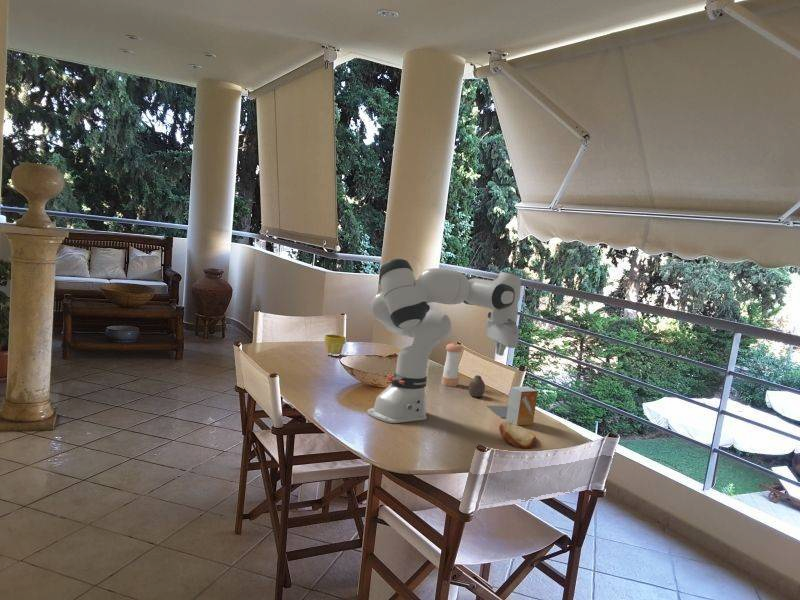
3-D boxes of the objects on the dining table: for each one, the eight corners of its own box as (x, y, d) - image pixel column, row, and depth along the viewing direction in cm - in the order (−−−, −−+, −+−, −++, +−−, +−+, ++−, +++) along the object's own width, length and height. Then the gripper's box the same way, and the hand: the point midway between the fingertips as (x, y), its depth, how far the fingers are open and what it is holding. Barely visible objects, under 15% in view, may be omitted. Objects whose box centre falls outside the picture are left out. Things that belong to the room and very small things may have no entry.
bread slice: (504, 425, 216) (505, 415, 215) (549, 440, 205) (551, 430, 204) (478, 435, 202) (479, 425, 201) (526, 452, 191) (527, 441, 190)
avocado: (479, 399, 245) (482, 379, 244) (464, 395, 249) (467, 375, 248) (486, 396, 251) (489, 376, 250) (471, 392, 255) (474, 373, 254)
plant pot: (335, 352, 305) (337, 333, 304) (347, 356, 298) (349, 337, 296) (319, 353, 298) (320, 334, 297) (331, 358, 291) (333, 338, 289)
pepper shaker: (457, 383, 269) (462, 341, 267) (457, 387, 262) (462, 344, 259) (441, 381, 269) (446, 339, 267) (441, 385, 262) (446, 342, 260)
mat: (528, 418, 226) (528, 417, 226) (501, 418, 223) (501, 417, 223) (512, 407, 239) (512, 406, 239) (486, 406, 237) (487, 405, 236)
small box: (516, 426, 216) (521, 391, 214) (505, 420, 221) (510, 386, 219) (533, 424, 220) (538, 390, 218) (522, 419, 225) (526, 385, 224)
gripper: (525, 322, 204) (520, 362, 206) (500, 313, 224) (496, 348, 225) (508, 321, 202) (503, 361, 204) (485, 312, 222) (480, 348, 224)
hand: (499, 354), depth 215 cm, fingers closed
